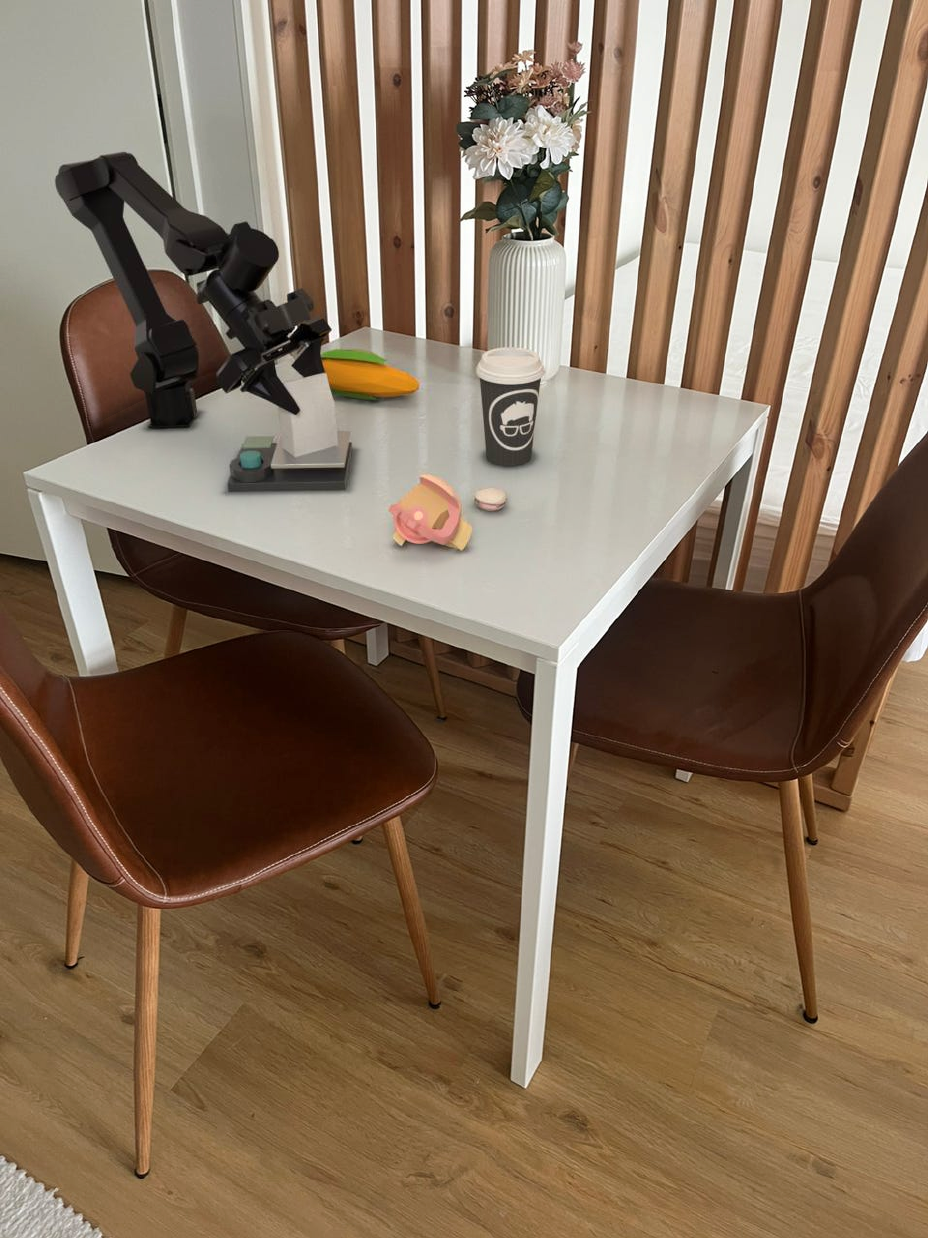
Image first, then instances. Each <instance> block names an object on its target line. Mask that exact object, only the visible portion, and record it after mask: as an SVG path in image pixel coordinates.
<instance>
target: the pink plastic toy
mask: <svg viewBox="0 0 928 1238" xmlns="http://www.w3.org/2000/svg"><path fill="white" fill-rule="evenodd" d="M462 510H463V507H462V503H461V500H460V498H459V496H458V494H457V493H456V491H455V490H454V488H453V487H452V485H450V484H449V483H448V482H447V481H445V480H444V479H442V478H441V477H438V476H436V475H434V474H429V473H426V474H425V473H424V474H421V475H419V483H418V484H417V485H415V486H414V487H413V488H412V489H411V490H410V491H408V492H407V493H406V494H405V495H404V496H403V497H402V498H401V499H400V500H399V501H398V502H396V503H394V504H393V503H392V504H390V506H389V507H388V513H390V514H391V515H392V516H393V517H392V518H393V519H392V520H393V525H394V527H395V530H394V532H393V534H392V538H393V540H394V541H395V542H396V543H397V544H398V546H401V547H402V546H403V545H404V543H405V542H406V541H407V542H410V543H413V544H417V545H421V544H427V543H430V542H433V543H436V544H439V545H441V546H446V547H449V548H453V549H457V550H459V551H461V552H463V551H464V549H465V547H466V546H467V544H468V542H469V540H470V538H471V536H472V532H473V528H474V527H473V526H472V525H470V524H469V522H468V521H466V519H464V518H463V516H462Z"/></svg>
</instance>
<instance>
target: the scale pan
mask: <svg viewBox="0 0 928 1238" xmlns="http://www.w3.org/2000/svg"><path fill="white" fill-rule="evenodd" d="M350 438H351V430H337V439H338V445H337V446H333V447H330V448H326V449H323V450H319V451H316V452H312V453H309V454H305V455H302V456H298V457H294V456H293V455H291V454H290V453H289V452H287V451H286V450H285V449H283V446H282V436H281V433H280V434H279V437H278V439H277V442H276V443H277V446H276V450H275V453H274V456H273V459H272V462H271V469H279V468H344V467H345V461H346V456H347V450H348V444H349V442H350Z"/></svg>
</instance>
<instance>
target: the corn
mask: <svg viewBox="0 0 928 1238" xmlns="http://www.w3.org/2000/svg"><path fill="white" fill-rule="evenodd" d="M320 354H321V359H322V363H323V367H324V370H325V373H327V378H328V381H329V384H330V387H331V390H332V394H336V395H339V396H344V397H349V398H355V399H359V400H360V399H361V400H366V401H379V400H378V399H377V398H376V397H380V398H394V397H400V396H406V395H412V394H414V393H415V392H417V391H418V390H419V387H420V382H419V381H418V379H416V378H415V377H414V376H412V375H411V374H410V373H408V372H405V371H403V370H400V369H397V368H395V367H393V366H390V365H388V364H385V363H387V361H388V360H387V359H385V358H383V357H381V356H379V355H378V356H376V355H377V354H376V355H373V354H368V353H363V352H357V351H351V350H349V349H348V350H347V349H342V348H341V349H338V348H335V349H331V350H328V351H325V352H323V353H320Z"/></svg>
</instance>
